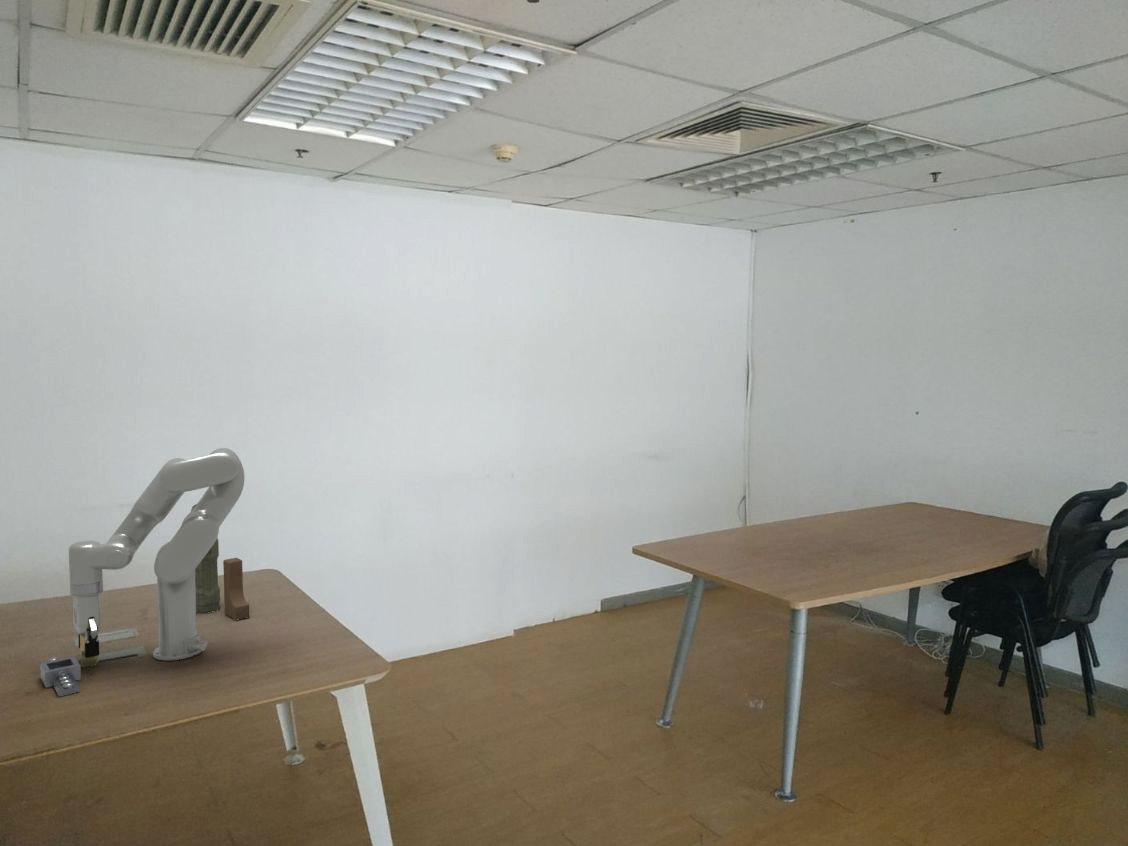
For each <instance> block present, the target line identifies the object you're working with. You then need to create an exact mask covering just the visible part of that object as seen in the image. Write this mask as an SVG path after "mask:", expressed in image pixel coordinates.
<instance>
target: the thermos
mask: <svg viewBox="0 0 1128 846" xmlns="http://www.w3.org/2000/svg"><path fill="white" fill-rule="evenodd" d="M196 504H197V503H196ZM196 504H194V505H193V506H192V507H191V510H190V512H191V511H192V510H193V508H194V507H195V506H196ZM219 549H220V548H219V538H218V537H217V539H216V541H215V543H214V544H213V546H212V547H211V549H210V550H209V551H208V553H207V554H206V555H205V557H204V558H203V559H202V561H201V562H200V563H199V565H198V566H197V567H196V569H195V587H196V613H205V614H209V613H208V612H211V613H213V612H212V611H215V610H217V609H219V608H221V606H220V605H221V604H220V602H221V589H220V586H219V578H218V574H219V573H218V571H219V569H218V558H219V556H220V551H219ZM219 610H220V609H219ZM217 611H218V610H217ZM215 612H216V611H215Z"/></svg>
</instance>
